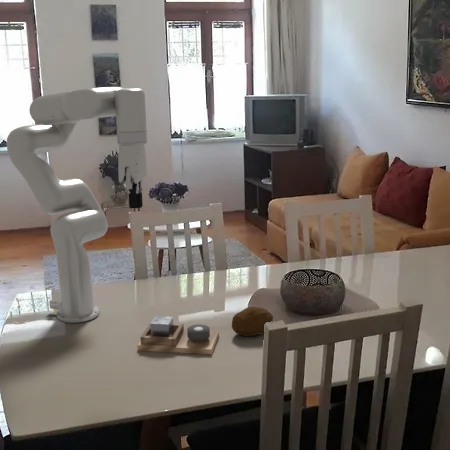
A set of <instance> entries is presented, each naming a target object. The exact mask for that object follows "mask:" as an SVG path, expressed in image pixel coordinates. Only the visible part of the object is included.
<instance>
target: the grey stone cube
mask: <svg viewBox="0 0 450 450" xmlns="http://www.w3.org/2000/svg"><path fill="white" fill-rule="evenodd" d="M150 322H151V323H150ZM150 322H149V324H150V327H151V336H158V337H172V336H173V334H174V330H173V324H174V317H173V316H161V315H154V317H153V319H152V320H151V321H150Z"/></svg>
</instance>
